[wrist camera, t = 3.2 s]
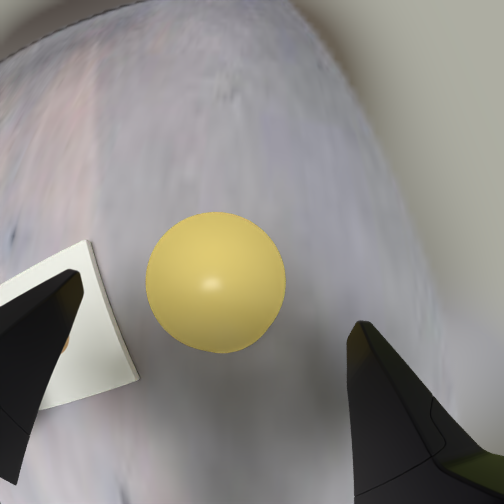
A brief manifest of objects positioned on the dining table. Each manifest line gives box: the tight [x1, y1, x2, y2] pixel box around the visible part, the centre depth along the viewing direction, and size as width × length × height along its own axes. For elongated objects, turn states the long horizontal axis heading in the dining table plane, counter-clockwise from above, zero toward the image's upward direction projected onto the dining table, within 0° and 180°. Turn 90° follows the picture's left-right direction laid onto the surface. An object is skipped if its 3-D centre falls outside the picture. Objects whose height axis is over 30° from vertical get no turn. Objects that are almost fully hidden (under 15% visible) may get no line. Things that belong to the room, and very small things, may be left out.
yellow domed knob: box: [146, 212, 286, 353], centre depth 12 cm, size 6×6×10 cm
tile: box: [0, 239, 140, 411], centre depth 16 cm, size 9×9×1 cm
